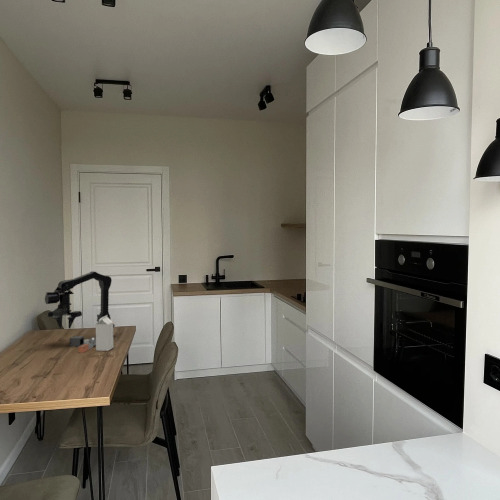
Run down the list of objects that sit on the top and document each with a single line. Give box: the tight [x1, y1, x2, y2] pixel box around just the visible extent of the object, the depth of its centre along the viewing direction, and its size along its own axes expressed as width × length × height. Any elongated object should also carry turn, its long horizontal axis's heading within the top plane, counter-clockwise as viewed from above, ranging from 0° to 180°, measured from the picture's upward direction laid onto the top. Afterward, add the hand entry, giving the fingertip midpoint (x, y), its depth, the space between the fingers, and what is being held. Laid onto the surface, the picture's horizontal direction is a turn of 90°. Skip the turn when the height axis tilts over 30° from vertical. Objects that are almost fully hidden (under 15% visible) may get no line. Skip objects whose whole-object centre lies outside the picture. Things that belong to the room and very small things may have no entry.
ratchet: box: [78, 336, 96, 354], centre depth 233 cm, size 16×8×5 cm, turn 173°
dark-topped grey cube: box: [69, 335, 85, 348], centre depth 239 cm, size 5×6×5 cm
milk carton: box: [95, 315, 114, 352], centre depth 231 cm, size 7×7×19 cm
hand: (65, 328), depth 240 cm, fingers open, 5 cm apart
